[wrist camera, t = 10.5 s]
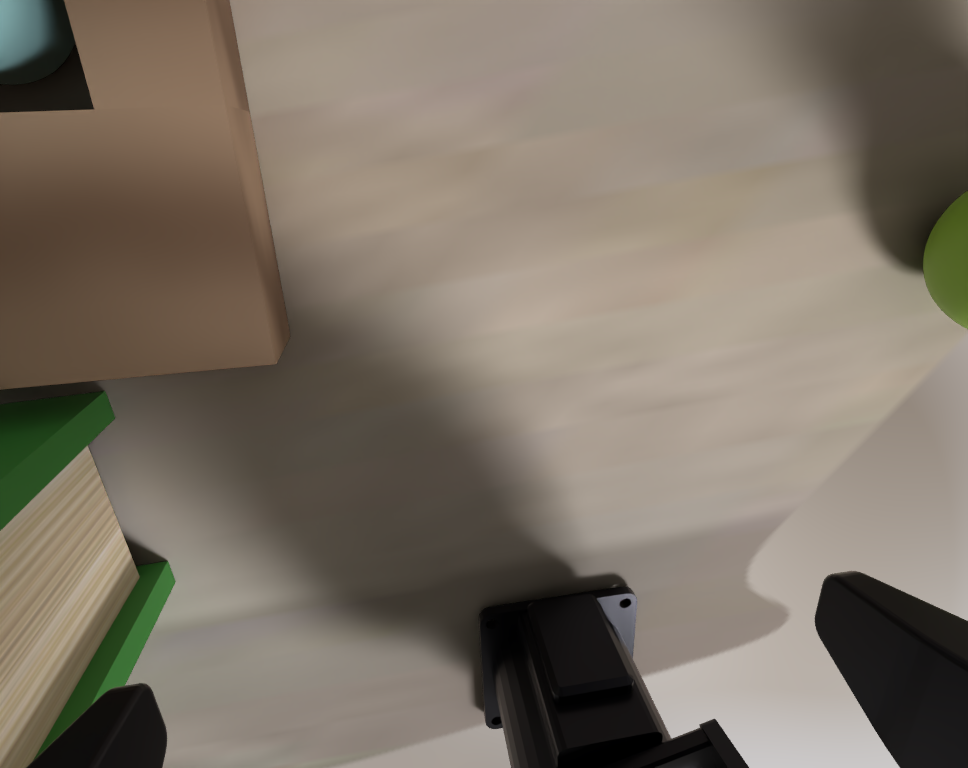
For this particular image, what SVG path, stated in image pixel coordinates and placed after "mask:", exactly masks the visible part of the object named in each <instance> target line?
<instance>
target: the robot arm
mask: <svg viewBox="0 0 968 768" xmlns="http://www.w3.org/2000/svg"><path fill="white" fill-rule="evenodd" d="M625 598H626V599H625ZM623 599H625V600H623ZM622 600H623V601H622ZM636 610H637V598H636V596H635V594H634V592H633V591H632V590H631V588H629V587H617V588H611V589H604V590H598V591H591V592H584V593H578V594H571V595H565V596H558V597H552V598H545V599H539V600H532V601H526V602H519V603H513V604H506V605H500V606H493V607H488V608H485V609H484V610H482V611H481V613H480V614H479V618H478V620H479V637H480V653H481V670H482V686H483V703H484V716H485V722H486V725H487V726H488V727H489V728H492V729H499V728H503V730H504V735H505V740H506V744H507V749H508V755H509V759H510V765H511V768H749V767H748V765H747V764H746V763H745V761H744V760H743V758H742V757H741V756H740V754H739V753H738V751H737V750H736V748H735V747H734V745H733V744H732V742H731V741H730V740H729V738H728V737H727V735H726V734H725V732H724V731H723V729H722V728H721V727H720V725H719V724H718V722H717V721H716V720H715V719H713V720H710V721H708V722H705V723H702V724H700V728H698V729H696V730H693V731H691V732H688V733H686V734H683V735H680V736H678V737H675V738H673V739H671V737H670V735H669V733H668V731H667V729H666V727H665V725H664V722H663V720H662V718H661V716H660V714H659V712H658V710H657V708H656V706H655V704H654V702H653V700H652V698H651V696H650V694H649V692H648V690H647V687H646V685H645V683H644V681H643V679H642V677H641V675H640V673H639V671H638V669H637V667H636V665H635V663H634V661H633V648H634V635H635V622H636ZM491 619H495V620H494V621H489V620H491ZM815 626H816V630H817V632H818V635H819V637H820V639H821V641H822V642H823V644H824V646H825V647H826V649H827V651H828V652H829V654H830V656H831V657H832V659H833V660H834V662H835V664H836V665H837V667H838V669H839V671H840V672H841V674H842V676H843V677H844V679H845V680H846V682H847V684H848V686H849V687H850V689H851V691H852V692H853V694H854V696H855V697H856V699H857V701H858V702H859V704H860V706H861V707H862V709H863V711H864V712H865V714H866V716H867V717H868V719H869V721H870V722H871V724H872V726H873V727H874V729H875V731H876V732H877V734H878V735H879V737H880V738H881V740H882V742H883V743H884V745H885V746H886V748H887V749H888V751H889V752H890V753H891V755H892V756H893V758H894V759H895V761H896V762H897V764H898V765H899V767H900V768H968V621H966V620H964V619H962V618H960V617H958V616H955V615H953V614H951V613H949V612H947V611H944V610H942V609H940V608H938V607H936V606H933V605H931V604H929V603H927V602H925V601H923V600H920V599H918V598H916V597H914V596H912V595H909V594H907V593H905V592H903V591H901V590H898V589H896V588H894V587H892V586H890V585H887V584H885V583H883V582H881V581H879V580H876V579H874V578H872V577H870V576H868V575H865V574H863V573H861V572H857V571H848V572H841V573H835V574H830V575H828V576H827V577H826V578H825V579H824V581H823V585H822V589H821V593H820V597H819V602H818V606H817V610H816V614H815ZM166 747H167V731H166V726H165V723H164V721H163V718H162V715H161V713H160V710H159V707H158V705H157V702H156V699H155V697H154V694H153V691H152V690H151V688H150V687H149V686H148V685H147V684H143V683H139V684H133V685H127V686H120V687H115V688H112V689H109V690H108V691H106V692H105V693H104V694H103V695H101V696H100V697H99V698H98V699H97V700H96V701H95V702H94V703H93V704H92V705H91V706H90V707H89V708H88V709H87V710H86V711H85V712H84V713H83V714H81V715H80V716H79V717H78V718H77V719H76V720H75V721H74V722H73V723H72V724H71V725H70V726H69V727H68V728H67V729H66V730H65V731H64V732H63V733H62V734H61V735H60V736H58V737H57V738H56V739H55V740H54V741H53V742H52V743H51V744H50V745H49V746H48V747H47V748H46V749H45V750H44V751H43V752H42V753H41V754H40V755H39V756H38V757H37V758H35V759H34V760H33V761H32V762H31V763H30V764H29V765H28V766H27V767H26V768H162V767H163V762H164V757H165V753H166Z"/></svg>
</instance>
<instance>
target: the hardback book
mask: <svg viewBox="0 0 968 768" xmlns="http://www.w3.org/2000/svg"><path fill="white" fill-rule="evenodd" d="M114 419H115V416H114V413H113V411H112V408H111V405H110V403H109V400H108V397H107V394H106V392H105V391H101V392H93V393H85V394H77V395H69V396H61V397H54V398H46V399H38V400H30V401H22V402H14V403H6V404H0V768H26V767H27V766H28V765H29V764H30V763H31V762H32V761H33V760H34V759H35V758H37V757H38V756H39V755H40V754H41V753H42V752H43V751H44V750H45V749H46V748H47V747H48V746H49V745H50V744H51V743H52V742H53V741H54V740H55V739H56V738H57V737H58V736H60V735H61V734H62V733H63V732H64V731H65V730H66V729H67V728H68V727H69V726H70V725H71V724H72V723H73V722H74V721H75V720H76V719H77V718H78V717H79V716H80V715H81V714H83V713H84V712H85V711H86V710H87V709H88V708H89V707H90V706H91V705H92V704H93V703H94V702H95V701H96V700H97V699H98V698H99V697H100V696H101V695H103V694H104V693H105V692H106V691H108V690H109V689H112V688H115V687H120V686H125V684H126V682H127V680H128V678H129V676H130V674H131V672H132V670H133V668H134V666H135V664H136V662H137V660H138V658H139V655H140V653H141V651H142V649H143V647H144V645H145V643H146V641H147V639H148V637H149V635H150V633H151V631H152V629H153V627H154V625H155V623H156V621H157V619H158V617H159V615H160V613H161V611H162V609H163V606H164V604H165V602H166V600H167V598H168V596H169V594H170V592H171V590H172V588H173V586H174V584H175V579H174V576H173V574H172V571H171V568H170V565H169V563H168V561H165V562H159V563H153V564H146V565H140V566H135V564H134V561H133V559H132V556H131V554H130V551H129V549H128V546H127V544H126V541H125V538H124V536H123V533H122V531H121V528H120V526H119V523H118V521H117V518H116V516H115V513H114V511H113V508H112V506H111V503H110V501H109V498H108V496H107V493H106V491H105V488H104V486H103V483H102V481H101V478H100V476H99V473H98V471H97V468H96V466H95V463H94V461H93V458H92V455H91V453H90V450H89V448H88V444H89V443H90V442H92V441H93V440H94V439H95V438H96V437H97V436H98V435H99V434H100V433H101V432H102V431H103V430H104V429H105V428H106V427H107V426H108V425H109V424H110V423H111V422H112V421H113V420H114Z"/></svg>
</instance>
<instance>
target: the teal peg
mask: <svg viewBox="0 0 968 768" xmlns="http://www.w3.org/2000/svg"><path fill="white" fill-rule="evenodd" d="M74 43H75V38H74V35H73V31H72V27H71V24H70V20H69V17H68V13H67V9H66V6H65V2H64V0H0V84H8V85H17V84H26V83H30V82H34V81H37V80H40V79H42V78H44V77H46V76H48V75H50V74H51V73H53V72H54V71H55V70H56V69H58V68H59V67H60V66H61V65H62V64H63V62H64V61H65V60H66V59H67V57H68V56H69V54H70V52H71V50H72V49H73V46H74Z"/></svg>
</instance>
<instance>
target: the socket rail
mask: <svg viewBox="0 0 968 768" xmlns="http://www.w3.org/2000/svg"><path fill="white" fill-rule="evenodd" d="M64 2H65V6H66V9H67V13H68V17H69V20H70V24H71V27H72V31H73V35H74V38H75V42H76V45H77V49H78V53H79V56H80V60H81V63H82V67H83V71H84V74H85V78H86V81H87V85H88V89H89V92H90V96H91V100H92V103H93V107H94V109H92V110H63V111H34V112H5V113H0V390H2V389H12V388H23V387H34V386H45V385H56V384H67V383H77V382H88V381H99V380H110V379H121V378H132V377H142V376H153V375H164V374H175V373H186V372H197V371H207V370H218V369H229V368H240V367H251V366H262V365H272V364H277V362H278V360H279V358H280V356H281V354H282V352H283V350H284V348H285V346H286V344H287V342H288V340H289V338H290V331H289V325H288V320H287V314H286V309H285V303H284V298H283V292H282V287H281V281H280V276H279V270H278V265H277V259H276V254H275V248H274V243H273V237H272V232H271V226H270V221H269V215H268V210H267V204H266V199H265V193H264V188H263V182H262V177H261V172H260V166H259V161H258V155H257V150H256V144H255V139H254V133H253V128H252V122H251V117H250V111H249V106H248V100H247V95H246V89H245V84H244V78H243V73H242V67H241V62H240V56H239V51H238V45H237V40H236V34H235V29H234V23H233V18H232V12H231V7H230V1H229V0H64Z"/></svg>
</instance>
